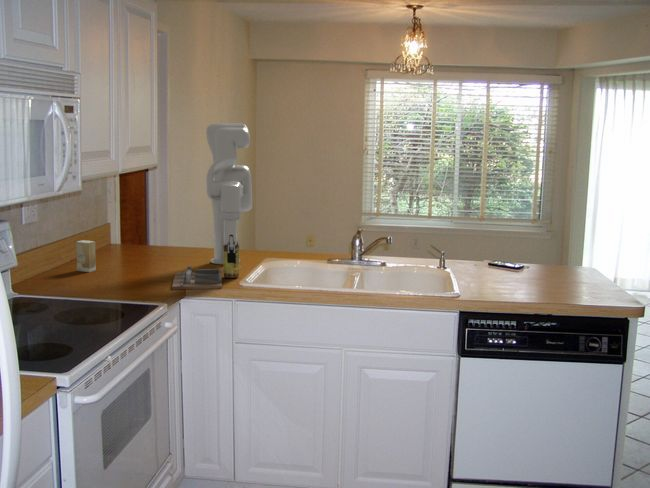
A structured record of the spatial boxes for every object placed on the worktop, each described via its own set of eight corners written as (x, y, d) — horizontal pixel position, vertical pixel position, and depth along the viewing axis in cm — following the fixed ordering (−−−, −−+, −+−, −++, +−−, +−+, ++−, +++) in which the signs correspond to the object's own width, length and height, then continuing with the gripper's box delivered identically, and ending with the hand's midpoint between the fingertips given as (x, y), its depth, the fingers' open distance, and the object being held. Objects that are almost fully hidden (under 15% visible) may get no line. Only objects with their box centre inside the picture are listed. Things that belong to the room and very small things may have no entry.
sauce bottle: (236, 279, 266) (235, 229, 262) (221, 278, 267) (220, 228, 263) (241, 275, 272) (241, 226, 268) (226, 274, 273) (226, 225, 269)
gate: (187, 277, 264) (187, 266, 263) (191, 277, 264) (191, 266, 264) (186, 283, 254) (186, 272, 254) (190, 283, 255) (190, 271, 254)
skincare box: (76, 271, 276) (75, 241, 274) (83, 269, 281) (82, 239, 278) (90, 272, 274) (88, 242, 272) (96, 270, 278) (95, 240, 276)
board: (175, 274, 272) (175, 265, 272) (221, 273, 275) (221, 264, 274) (171, 289, 249) (171, 278, 248) (221, 288, 252) (221, 277, 251)
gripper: (220, 212, 272) (221, 256, 276) (221, 219, 256) (221, 266, 259) (239, 212, 274) (240, 256, 277) (241, 219, 257) (241, 265, 260)
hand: (231, 260), depth 268 cm, fingers closed on sauce bottle, 6 cm apart
